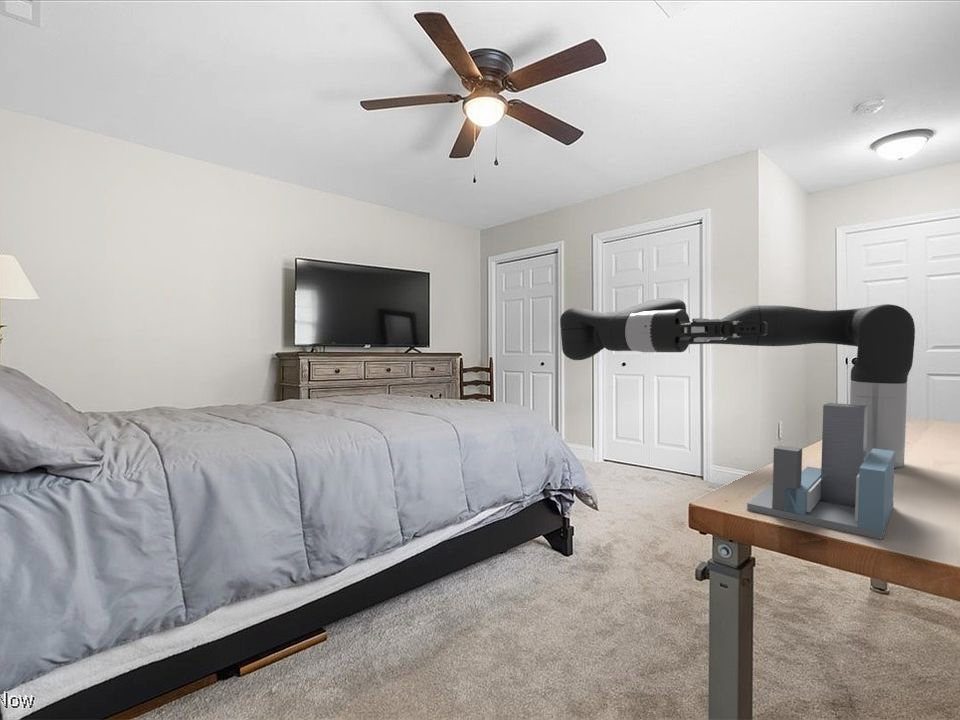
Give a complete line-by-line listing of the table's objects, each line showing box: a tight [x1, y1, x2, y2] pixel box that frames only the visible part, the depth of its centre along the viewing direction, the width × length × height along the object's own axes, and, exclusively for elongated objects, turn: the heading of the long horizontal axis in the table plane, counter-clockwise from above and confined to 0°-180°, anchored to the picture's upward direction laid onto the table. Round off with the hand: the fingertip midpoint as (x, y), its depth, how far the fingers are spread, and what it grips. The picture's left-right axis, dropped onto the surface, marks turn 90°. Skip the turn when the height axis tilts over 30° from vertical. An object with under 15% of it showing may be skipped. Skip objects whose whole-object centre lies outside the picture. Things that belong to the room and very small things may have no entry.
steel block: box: [820, 402, 868, 508], centre depth 74 cm, size 4×5×15 cm
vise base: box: [746, 448, 895, 541], centre depth 74 cm, size 17×16×9 cm
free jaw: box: [772, 444, 821, 515], centre depth 76 cm, size 16×4×9 cm, turn 136°
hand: (766, 328), depth 75 cm, fingers closed
